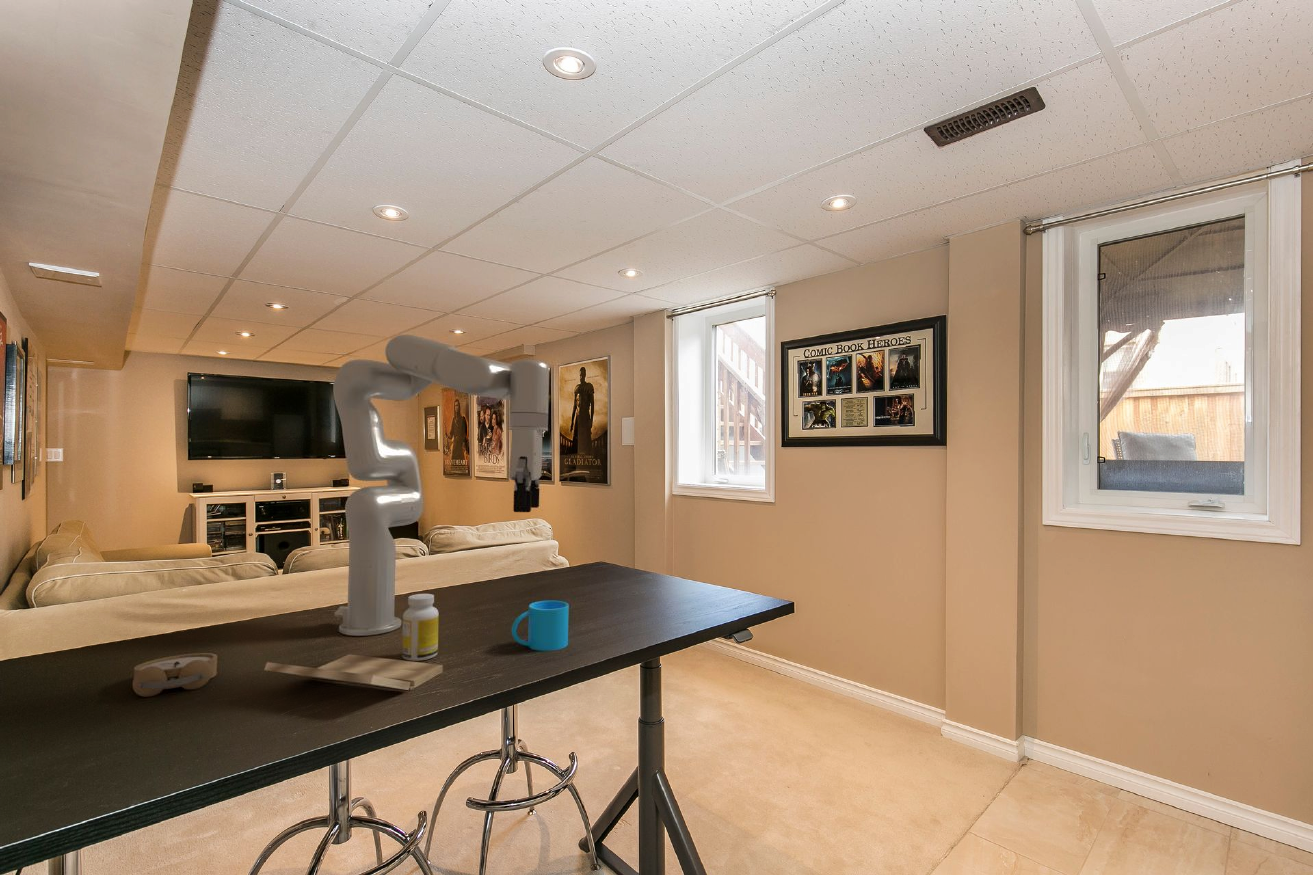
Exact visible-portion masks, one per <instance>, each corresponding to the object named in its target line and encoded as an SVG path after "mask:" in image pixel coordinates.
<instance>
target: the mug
mask: <svg viewBox="0 0 1313 875" xmlns="http://www.w3.org/2000/svg"><path fill="white" fill-rule="evenodd" d="M569 607H570V606H569V603H567V602H565V601H562V600H561V601H560V600H541V601H535V602H531V603H530V604H529V606H528V610H527V611H525V612H523V613H521V614H520V615H519V616H518V617H516V618H515V620H514V622H513V623H512V626H511V636H512V638H513V639H514V641H516V642H517V643H519V644H520V645H523V646H525V647H526V646H528V648H530V649H531V650H535V651H539V652H544V651H545V652H549V651H550V652H551V651H557V650H562V649H564V648H566V647H567V646H568V645H569ZM527 616H528V633H527V634H528V637H527V638H528V639H527V640H528V641H527V640H523V639H521V637H519V635H518V633H517V628H518V626H519V623H520V622H521V621H522V620H523V619H524V618H527Z"/></svg>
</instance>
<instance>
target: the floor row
mask: <svg viewBox="0 0 1313 875" xmlns="http://www.w3.org/2000/svg"><path fill="white" fill-rule="evenodd" d="M317 668H318V669H326V670H334V671H342V672H350V673H358V674H366V675H374V676H379V677H385V678H390V679H396V680H401V681H406V682H411V683H410V686H409V690H408V691H412V690H413V689H415V688H417V687H419V686H420V685H422V684H424V683H425V682H428V681H430V680H431V679H432V678H434V677H436V676H439V674H442V673H443V670H444V669H443V668H444V667H443V665H442V664H436V663H435V664H434V663H425V662H420V661H409V660H401V659H394V658H393V659H392V658H385V657H384V658H383V657H375V656H366V655H358V654H350V653H349V654H347V655H345V656H342V657H340V658H338V659H335V660H333V661H330V662H327V663H326V664H323V665H320V666H318V667H317ZM326 680H327V681H328V679H326ZM334 681H336V680H334ZM336 682H337V681H336ZM349 683H351V682H349ZM357 684H359V683H357ZM372 686H374V685H372ZM380 687H382V686H380ZM395 689H396V690H398V689H397V688H395ZM403 690H405V689H403Z"/></svg>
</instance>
